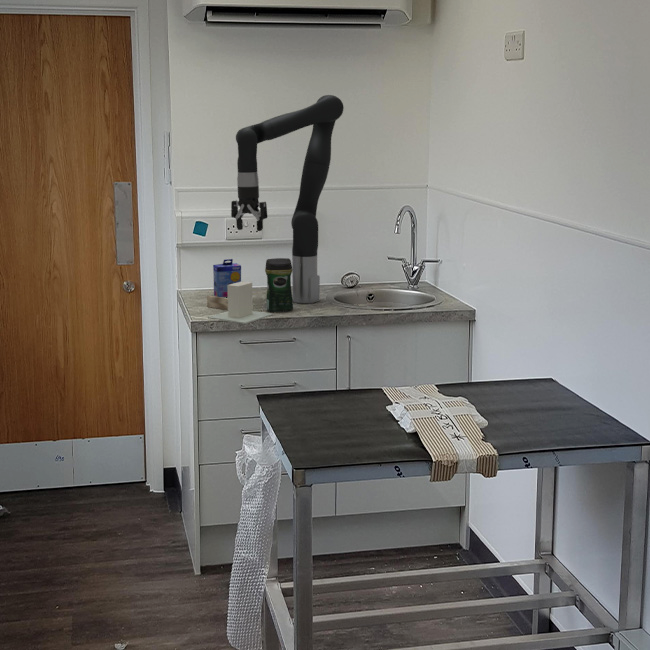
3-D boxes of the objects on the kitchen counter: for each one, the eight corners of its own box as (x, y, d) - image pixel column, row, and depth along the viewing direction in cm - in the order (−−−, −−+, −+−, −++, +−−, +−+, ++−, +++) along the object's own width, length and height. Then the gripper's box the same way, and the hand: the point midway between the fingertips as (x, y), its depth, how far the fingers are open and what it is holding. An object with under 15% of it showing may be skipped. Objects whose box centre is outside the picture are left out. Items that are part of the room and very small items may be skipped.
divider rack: (251, 303, 347) (251, 293, 346) (229, 310, 336) (229, 299, 335) (229, 300, 352) (229, 290, 351) (207, 306, 341) (207, 296, 341)
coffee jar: (291, 307, 341) (291, 256, 337) (294, 312, 333) (293, 259, 329) (264, 308, 339) (264, 256, 335) (266, 312, 332) (266, 260, 328)
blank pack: (252, 313, 328) (252, 282, 325) (238, 318, 321) (238, 286, 319) (242, 312, 330) (241, 281, 328) (228, 316, 323) (227, 285, 321)
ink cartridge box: (217, 298, 356) (216, 260, 353) (212, 296, 361) (211, 258, 358) (242, 296, 360) (241, 258, 357) (237, 294, 365) (236, 256, 362)
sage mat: (273, 315, 328) (273, 313, 328) (245, 324, 315) (245, 322, 315) (236, 309, 336) (236, 308, 336) (207, 318, 323) (207, 316, 323)
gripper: (270, 184, 337) (271, 230, 341) (238, 183, 345) (239, 228, 348) (258, 186, 331) (259, 232, 335) (225, 185, 338) (227, 230, 342)
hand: (249, 230), depth 342 cm, fingers open, 8 cm apart
